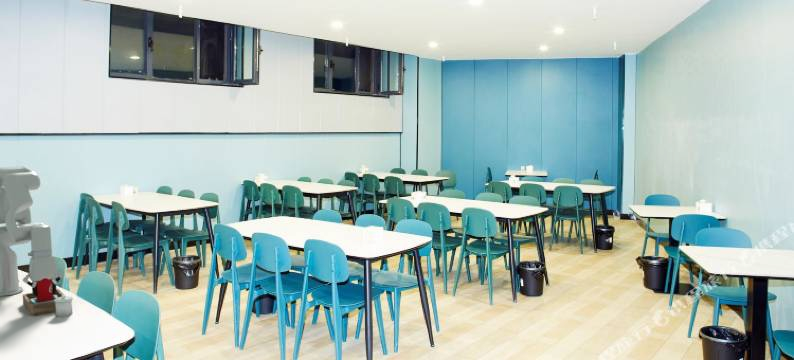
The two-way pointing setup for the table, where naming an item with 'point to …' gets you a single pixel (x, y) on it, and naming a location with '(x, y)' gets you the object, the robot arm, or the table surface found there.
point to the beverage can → (44, 290)
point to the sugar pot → (63, 306)
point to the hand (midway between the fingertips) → (44, 293)
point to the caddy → (42, 307)
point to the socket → (34, 301)
